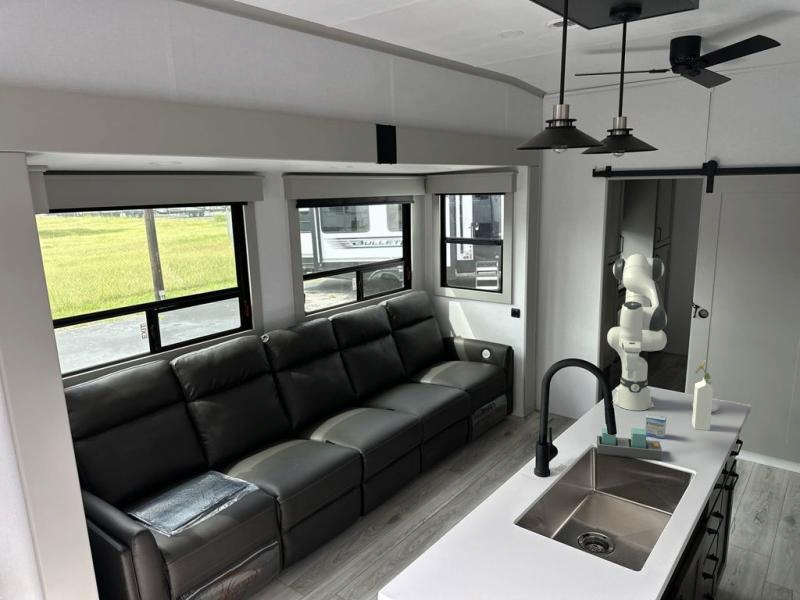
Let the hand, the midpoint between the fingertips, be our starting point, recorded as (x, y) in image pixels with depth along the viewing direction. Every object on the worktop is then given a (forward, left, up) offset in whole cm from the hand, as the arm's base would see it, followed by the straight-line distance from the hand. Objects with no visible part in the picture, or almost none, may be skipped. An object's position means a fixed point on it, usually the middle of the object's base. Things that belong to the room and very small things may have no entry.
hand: (629, 373), depth 231 cm
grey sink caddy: (+12, 0, -29) cm, 31 cm away
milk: (-19, +32, -29) cm, 47 cm away
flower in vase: (-39, +37, -29) cm, 61 cm away
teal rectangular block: (+12, -7, -29) cm, 32 cm away
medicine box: (-6, +12, -29) cm, 32 cm away
